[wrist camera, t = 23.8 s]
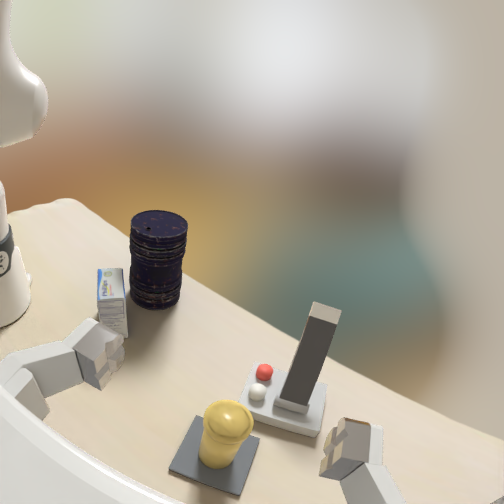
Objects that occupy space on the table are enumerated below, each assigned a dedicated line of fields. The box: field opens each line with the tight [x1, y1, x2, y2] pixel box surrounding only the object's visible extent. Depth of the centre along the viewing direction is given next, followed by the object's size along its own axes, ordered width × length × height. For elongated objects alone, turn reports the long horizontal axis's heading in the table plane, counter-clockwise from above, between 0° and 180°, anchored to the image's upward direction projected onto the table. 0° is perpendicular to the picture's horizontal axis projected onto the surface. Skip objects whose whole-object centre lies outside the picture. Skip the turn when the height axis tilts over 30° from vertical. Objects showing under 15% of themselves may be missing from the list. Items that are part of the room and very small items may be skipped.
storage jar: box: [129, 210, 188, 310], centre depth 54 cm, size 10×10×15 cm
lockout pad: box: [169, 415, 260, 496], centre depth 33 cm, size 9×9×1 cm
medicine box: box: [97, 268, 128, 338], centre depth 47 cm, size 8×4×9 cm, turn 23°
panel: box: [238, 361, 327, 438], centre depth 42 cm, size 12×9×3 cm
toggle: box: [273, 302, 341, 415], centre depth 41 cm, size 5×2×15 cm
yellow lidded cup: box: [198, 400, 254, 469], centre depth 31 cm, size 5×5×10 cm
